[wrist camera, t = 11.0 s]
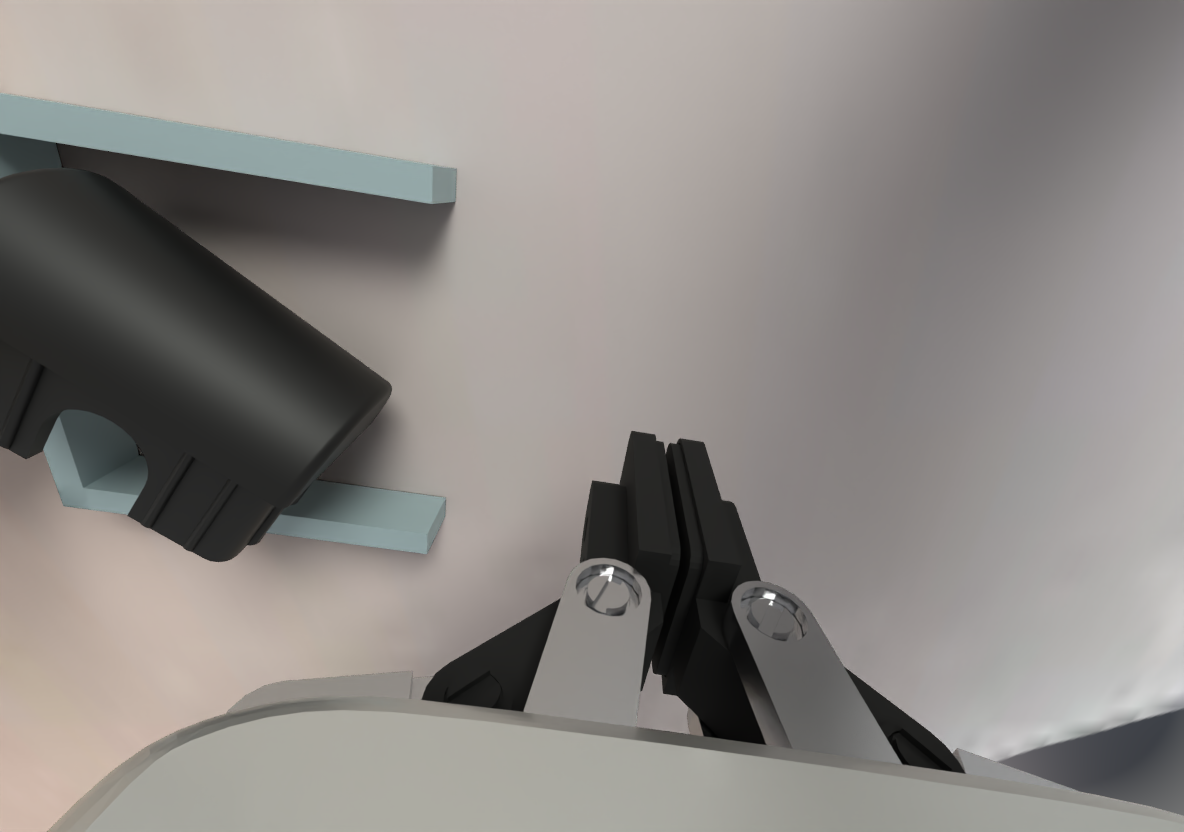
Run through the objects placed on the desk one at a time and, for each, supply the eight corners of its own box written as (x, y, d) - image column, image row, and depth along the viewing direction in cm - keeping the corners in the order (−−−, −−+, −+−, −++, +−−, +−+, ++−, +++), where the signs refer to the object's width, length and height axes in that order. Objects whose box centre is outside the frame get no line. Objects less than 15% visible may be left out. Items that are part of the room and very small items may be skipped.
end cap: (422, 359, 19) (337, 440, 13) (332, 475, 21) (223, 591, 15) (170, 167, 16) (-87, 155, 10) (98, 323, 19) (-147, 390, 13)
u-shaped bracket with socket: (-174, 63, 15) (-697, -20, 9) (456, 168, 16) (366, 157, 10) (-12, 454, 21) (-265, 564, 15) (445, 516, 22) (383, 644, 16)
